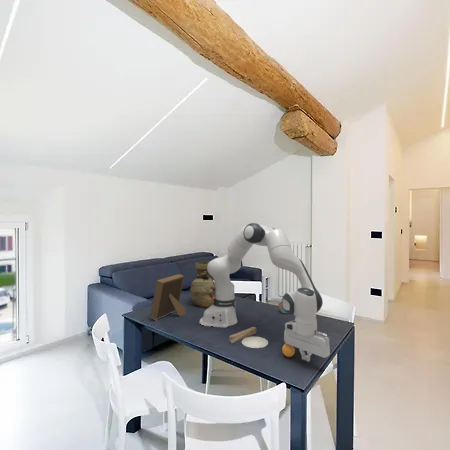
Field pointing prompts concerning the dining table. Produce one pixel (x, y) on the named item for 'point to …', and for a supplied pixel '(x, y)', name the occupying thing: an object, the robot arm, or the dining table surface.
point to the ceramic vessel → (203, 286)
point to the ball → (288, 350)
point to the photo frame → (167, 296)
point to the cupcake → (281, 308)
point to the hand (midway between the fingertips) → (306, 360)
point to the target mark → (254, 342)
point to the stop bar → (242, 334)
